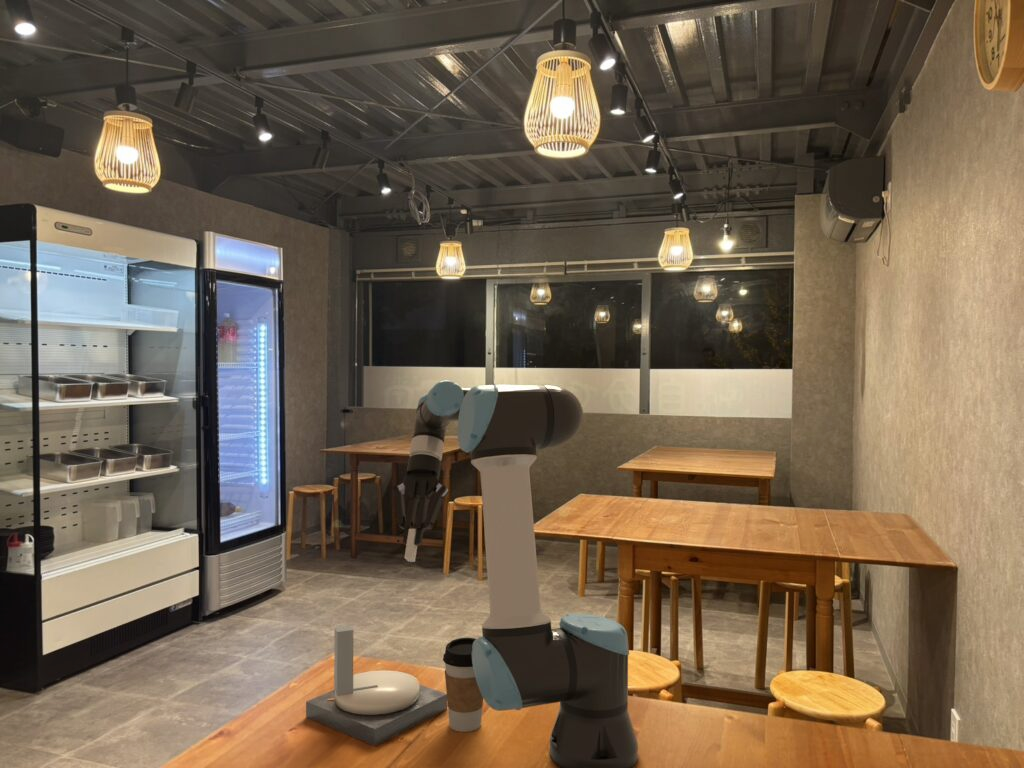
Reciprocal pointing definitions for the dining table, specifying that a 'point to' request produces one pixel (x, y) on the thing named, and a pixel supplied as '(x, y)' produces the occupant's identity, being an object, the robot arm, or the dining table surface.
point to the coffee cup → (462, 686)
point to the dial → (368, 682)
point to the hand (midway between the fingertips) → (409, 559)
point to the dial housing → (376, 716)
